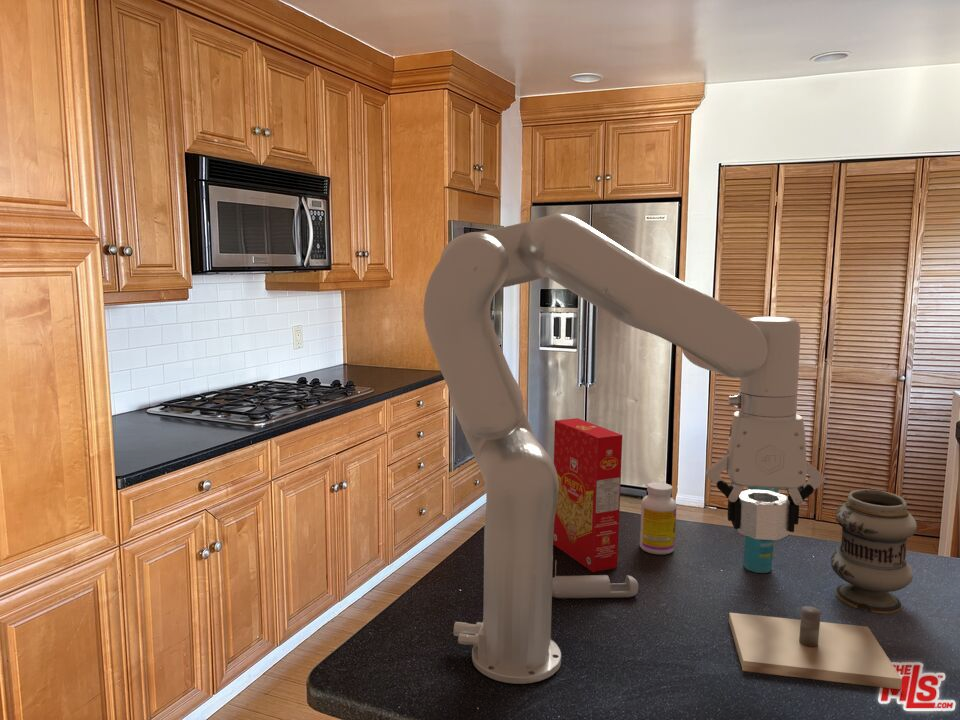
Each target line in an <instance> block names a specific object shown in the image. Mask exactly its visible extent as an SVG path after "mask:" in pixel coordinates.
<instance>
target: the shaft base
mask: <svg viewBox="0 0 960 720" xmlns="http://www.w3.org/2000/svg"><path fill="white" fill-rule="evenodd" d="M800 611H801V612H800V614H801V615H800V619H795V618H787V617H786V618H785V617H777V616H766V615H758V614H748V613H737V612H729V613H728V614H729V616H728V623H729V627H730V631H731V634H732V637H733V641H734V644H735V648H736V652H737V655H738V660H739V662H740V666H741V670H742V672H749V673H758V674H765V675H767V674H768V675H775V676H784V677H793V678H801V679H811V680H819V681H826V682H834V683H842V684H843V683H844V684H851V685H861V686H870V687H879V688H885V689H894V690H895V689H896V690H901V689H902V682H903V678H902V677H901V675H900V673H899V672H898V671H897V669H896V668H895V666H894V664H893V663H892V662H891V660H890V658H889V657H888V656H887V653H886V652H885V650H884V649H883V647H882V646H881V644H880V643H879V641H878V640H877V638H876V637H875V635H874V633H872V631H871V629H870V628H869V627H868V626H865V625H856V624H846V623H835V622H826V621H821V610H820V609H818V608H816V607H815V606H809V605H806V606H805V605H804V606H802V607H801V609H800Z"/></svg>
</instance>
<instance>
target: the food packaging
mask: <svg viewBox="0 0 960 720" xmlns="http://www.w3.org/2000/svg"><path fill="white" fill-rule="evenodd" d="M622 450H623V434H621V433H619V432H615V431H613V430H611V429H607V428H605V427H602V426H599V425H598V424H594V423H591V422H589V421H586V420H584V419H582V418H577V417H576V418H575V417H574V418H565V419H556V420H554V441H553V463H554V465H555V468H556V471H557V476H558V484H559V490H558V500H557V507H556V513H555V520H554V534H553V546H555V547H557V548H558V549H559V550H561V551H562V550H563V553H565V554H567V555H568V556H569V557H571V559H573V560H574V561H577V562H578V563H579V564H580V565H582V566H584V567H585V568H587V570H589V571H591V572H592V573H596V572H602V571H606V570H610V569H616V568H618V557H619V555H618V554H619V532H620V530H619V528H620V527H619V526H620V509H621V508H620V507H621V506H620V505H621V480H622V478H621V477H622V456H623V451H622Z"/></svg>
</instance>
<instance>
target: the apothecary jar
mask: <svg viewBox="0 0 960 720" xmlns="http://www.w3.org/2000/svg"><path fill="white" fill-rule="evenodd" d="M835 519H836V522H837V524H838V525H840V527H841V540H840V545H839V547H840V548H838V549H837V550H836V551H834V552H833V554H832V555H831V558H830V566H831V568H832V570H833V571H834V573H835V574H836V575H837V576H838V577H839V578H840V579H842V581H845V582H846V583H844V584H841V585H838V586H837V587H836V588H835V590H834V593H835V596H836V598H838V600H840V601H841V602H843V603H844V604H846V605H847V606H849V607H852V608H855V609H858V610H866V611H868V612H870V613H876V614H883V613H887V614H893V612H894V613H897V612H899V611H900V610H901V609H902V603H901V601H900V600H899V598H898V597H897V596H896V595H894V594H892V593H891V592H896V591H899V590H903V589H905V587H907V586H909V585H910V584H911V583H912V581H913V578H914V572H913V568H912V567H911V565H910V564H909V562H908V561H907V559H906V555H907V542H908V541H907V540H908V538H910V537H912V536H913V535H915V533H916V532H917V528H918V525H917V524H918V523H917V521H916V519H915V517H913V515H912V514H911V513H910V512H909V511H908V508H907V500H906V499H904V498H903V496H900V495H898V494H895V493H892V492H888V491H885V490H877V489H869V488H868V489H867V488H866V489H854V490H851V491H850V492H849V493H848V496H847V499H846V500H845V502H843V503H842V504H841V505H839V506H838V508H837V509H836V510H835ZM896 611H897V612H896Z"/></svg>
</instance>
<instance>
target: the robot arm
mask: <svg viewBox="0 0 960 720" xmlns="http://www.w3.org/2000/svg"><path fill="white" fill-rule="evenodd" d="M545 278H548V279H550V280H552V281H554V282H555V283H557V284H558V285H560V286H561V287H563V288H565V289H567V290H569V291H570V292H572V293H574V294H575V296H576V295H577V296H578V297H580V298H581V299H583V300H585V301H586V302H588V303H590V304H591V305H593V306H595V308H596V307H597V309H600V310H601V311H603V312H604V313H606V314H607V315H609V316H611V317H612V318H614V319H616V320H617V321H620V322H622V323H623V324H625V325H628V326H630V327H632V328H634V329H637V330H640V331H644V332H647V333H649V334H651V335H655V336H657V337H659V338H661V339H663V340H665V341H667V342H669V343H671V344H673V345H675V346H677V347H678V348H680V349H681V353H682V354H683V356H684V357H685V358H686V359H687V360H688V361H689V362H690V363H692V364H693V365H695V366H697V367H699V368H701V369H703V370H707V371H710V372H714V373H717V374H720V375H721V376H725V377H726V378H731V379H739V390H738V393H737V394H736V395H734V396H733V395H732V396H731V395H729V396H728V400H727V401H728V406H733V407H736V408H737V409H738V411H737V410H735V412H734V413H733V416H732V420H731V423H730V428H729V429H730V430H729V435H728V441H727V442H728V443H727V450H726V451H727V452H726V454H725V455H724V456H723V457H721V458H720V459H718V461H716V462H714V463H713V464H712V465H711V466H709V468H707V469H706V471H705V474H706V476H707V478H708V479H709V480H710V481H711V482H712V483H713V484H714V486H716V488H717V489H718V490H719V492H721V493H722V494H723V496H725V497H726V498H727V521H729V522H731V524H732V527H733V529H734V530H737V529H738V528H740V513H741V504H740V502H739V495H740V493H741V492H742V491H744V489H745V488H748V487H760V488H779V489H785V490H786V491H787V494H788V496H787V498H788V500H789V501H790V508H789V526H788V533H789V532H790V533H794V532H795V525H796V526H797V525H799V518H800V517H799V515H800V506H801V505H802V504H803V503H804V501H805V499H807V498H809V497H810V496H811V495H812V494H813V493H814V491H815V490H817V489H818V488H819V487H820V486H821V485H822V484H823V483H824V482H826V477H825V476H824V475H823V474H822V473H821V472H820V471H819V470H818V469H816V467H814V466H813V465H812V464H811V463H810V462H809V461H808V460H807V441H806V431H805V423H804V418H803V416H801V415H799V414H797V407H798V390H799V389H798V388H799V387H798V386H799V370H800V369H799V368H800V350H801V349H800V348H801V325H800V323H799V321H797V320H796V319H794V318H792V317H791V318H790V317H787V316H773V315H771V316H768V315H767V316H754V317H750V318H746V317H745V316H743V315H741V314H740V313H739V312H737V311H736V310H733V308H731V307H729V306H727V305H726V304H724V303H723V302H721V301H720V300H717V299H715V298H714V297H713V296H711V295H708V294H706V293H705V292H703V291H701V290H700V289H698V288H696V287H693V286H691V285H689V284H687V283H685V282H684V281H682V280H680V279H679V278H677V277H675V276H673V275H672V274H670V273H668V272H667V271H665V270H663V269H661V268H659V267H656V265H653V264H651V263H649V262H648V261H647V260H644V258H641V257H640V256H639V255H636V254H635V253H634V252H631V251H630V250H628V249H627V248H625V247H623V246H622V245H621V244H620V243H617V242H616V241H614V240H613V239H611V238H610V237H608V236H606V235H605V234H604V233H601V232H600V231H598V230H597V229H595V228H594V227H592V226H591V225H589V224H587V223H586V222H584V221H582V220H581V219H579V218H576V217H575V216H573V215H570V214H566V213H555V214H550V215H546V216H541V217H539V218H538V217H537V218H534V219H532V220H528V221H525V222H524V221H523V222H520V223H516V224H512V225H507V226H502V227H498V228H492V229H487V230H483V231H482V230H481V231H473V232H472V231H470V232H466V233H463V234H460V235H459V236H456V237H455V238H453V239H451V240H450V241H449V242H448V243H447V244H446V245H445V246H444V248H443V250H442V252H441V254H440V258H439V261H438V262H437V265H436V266H435V267H434V269H433V271H432V273H431V274H430V277H429V279H428V282H427V285H426V289H425V293H424V301H423V321H424V327H425V330H426V331H425V332H426V334H427V338H428V340H429V341H428V342H429V344H430V346H431V349H432V352H433V354H434V357H435V358H436V361H437V364H438V366H439V369H440V372H441V375H442V377H443V379H444V381H445V384H446V386H447V389H448V391H449V400H450V403H451V407H452V409H453V411H454V413H455V415H456V419H457V421H458V423H459V425H460V427H461V430H462V432H463V435H464V436H465V439H466V442H467V443H468V446H469V449H470V451H471V453H472V455H473V457H474V459H475V462H476V464H477V466H478V469H479V472H480V474H481V476H482V479H483V482H484V485H485V492H486V495H485V496H486V497H485V498H486V499H485V501H486V503H485V516H484V532H483V533H484V535H483V618H482V622H480V621H476V623H475V624H474V623H468V622H462V621H455V622H454V625H453V636H454V637H455V636H456V637H458V638H457V643H458V644H461V645H472V648H471V649H472V650H471V661H472V663H473V666H474V667H475V668H476V669H477V671H479V672H480V673H481V674H482V675H484V676H486V677H488V678H490V679H492V680H494V681H496V682H497V681H498V682H502V683H506V684H515V685H517V684H519V685H524V684H532V683H537V682H541V681H543V680H545V679H549V678H551V677H552V676H554V674H555V673H557V672H558V670H559V669H560V668H561V664H562V650H561V648H560V647H559V646H558V644H557V643H556V642H555V641H554V640H552V605H553V603H552V600H553V597H552V578H553V569H554V567H553V566H554V544H553V534H554V520H555V513H556V507H557V500H558V490H559V484H558V476H557V471H556V468H555V465H554V460H553V459H552V458H551V456H550V454H549V453H548V452H547V451H546V449H545V448H544V446H543V445H542V444H540V443H539V441H538V440H537V438H536V436H535V434H534V432H533V431H534V430H533V429H532V427H531V425H530V423H529V420H528V417H527V415H526V412H525V410H524V407H525V406H524V398H523V393H522V390H521V388H520V385H519V384H518V382H517V380H516V378H515V377H514V374H513V373H512V371H511V369H510V366H509V363H508V362H507V359H506V357H505V354H504V352H503V350H502V347H501V346H500V341H499V340H498V337H497V336H498V335H497V333H496V330H495V328H494V325H493V322H492V318H491V308H492V307H491V306H492V302H493V298H494V296H495V295H496V293H497V292H498V291H499V290H500V289H503V288H508V287H511V286H516V285H521V284H525V283H529V282H533V281H537V280H540V279H545ZM725 470H726V473H727V475H728V477H729V481H730V483H729V484H728V483H727V482H726V481H725V480H724V479H723V478H722V477H721V476H720V474H721V473H722V472H724V471H725ZM807 475H808V476H809V479H808V480H807ZM806 480H807V481H806Z"/></svg>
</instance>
